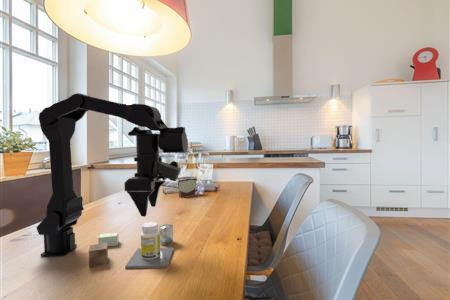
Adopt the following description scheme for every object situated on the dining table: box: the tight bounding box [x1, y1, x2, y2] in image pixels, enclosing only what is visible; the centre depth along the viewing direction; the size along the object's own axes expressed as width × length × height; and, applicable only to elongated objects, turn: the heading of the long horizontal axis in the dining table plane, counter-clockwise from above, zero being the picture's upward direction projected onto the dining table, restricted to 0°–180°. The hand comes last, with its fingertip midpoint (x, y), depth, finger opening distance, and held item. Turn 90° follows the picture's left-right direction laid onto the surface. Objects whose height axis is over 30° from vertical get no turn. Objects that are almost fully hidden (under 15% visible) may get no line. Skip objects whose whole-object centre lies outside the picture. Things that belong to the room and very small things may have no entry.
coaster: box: [124, 246, 175, 270], centre depth 67 cm, size 10×10×1 cm
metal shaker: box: [158, 223, 174, 247], centre depth 77 cm, size 4×4×5 cm
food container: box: [175, 176, 198, 199], centre depth 140 cm, size 12×6×10 cm, turn 130°
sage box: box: [97, 232, 120, 247], centre depth 76 cm, size 5×3×3 cm, turn 105°
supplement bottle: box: [140, 221, 161, 260], centre depth 66 cm, size 5×5×8 cm
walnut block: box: [88, 243, 109, 268], centre depth 65 cm, size 4×4×4 cm
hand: (148, 211), depth 69 cm, fingers open, 9 cm apart
